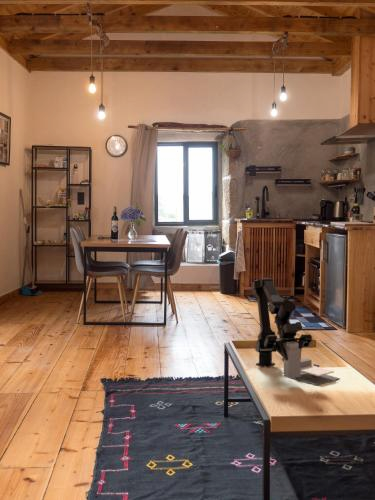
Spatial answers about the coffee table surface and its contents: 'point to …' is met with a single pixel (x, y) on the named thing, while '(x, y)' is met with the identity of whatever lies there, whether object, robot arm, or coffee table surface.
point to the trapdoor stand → (314, 378)
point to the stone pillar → (292, 360)
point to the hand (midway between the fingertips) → (293, 359)
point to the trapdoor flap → (313, 368)
